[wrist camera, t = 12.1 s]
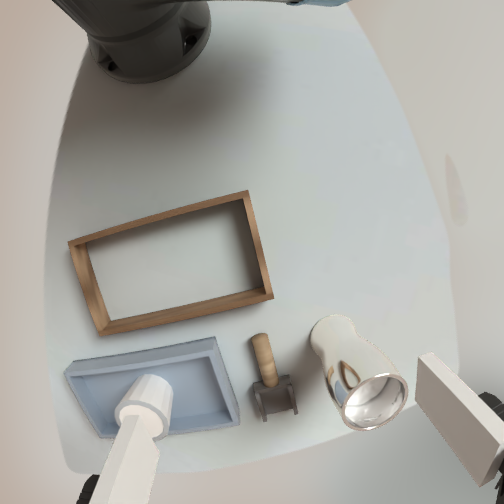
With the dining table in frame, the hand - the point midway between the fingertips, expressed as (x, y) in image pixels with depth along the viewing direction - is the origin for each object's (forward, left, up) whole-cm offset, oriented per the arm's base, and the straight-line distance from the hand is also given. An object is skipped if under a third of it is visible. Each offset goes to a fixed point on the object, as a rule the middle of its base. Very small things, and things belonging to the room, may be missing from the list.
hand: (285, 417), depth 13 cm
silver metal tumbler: (+10, +8, -25) cm, 28 cm away
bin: (+12, -17, -25) cm, 33 cm away
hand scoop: (+14, -1, -25) cm, 29 cm away
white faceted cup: (+12, -17, -24) cm, 32 cm away
